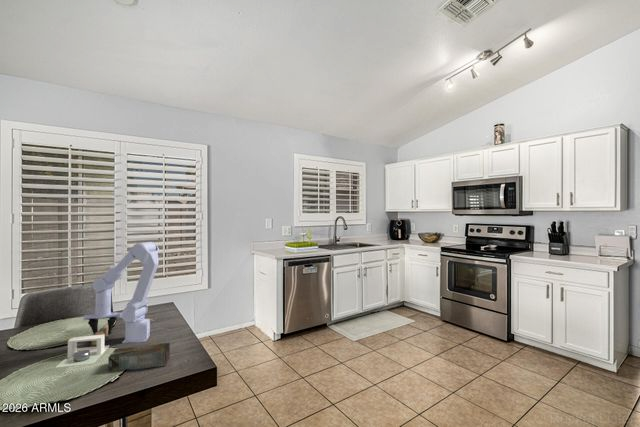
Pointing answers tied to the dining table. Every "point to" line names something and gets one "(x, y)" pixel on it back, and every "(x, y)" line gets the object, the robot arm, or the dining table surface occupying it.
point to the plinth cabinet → (73, 341)
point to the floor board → (91, 360)
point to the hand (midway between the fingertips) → (102, 334)
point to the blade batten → (101, 333)
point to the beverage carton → (139, 357)
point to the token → (81, 356)
